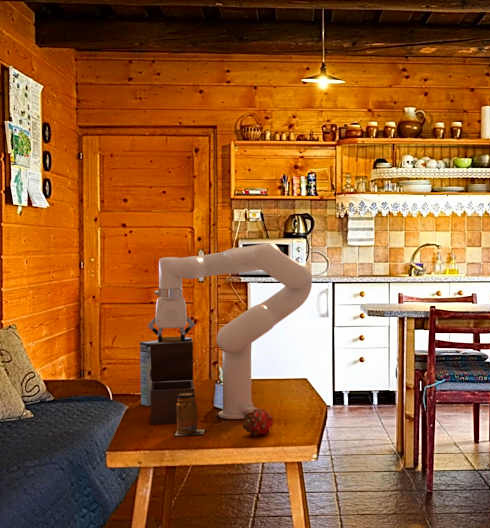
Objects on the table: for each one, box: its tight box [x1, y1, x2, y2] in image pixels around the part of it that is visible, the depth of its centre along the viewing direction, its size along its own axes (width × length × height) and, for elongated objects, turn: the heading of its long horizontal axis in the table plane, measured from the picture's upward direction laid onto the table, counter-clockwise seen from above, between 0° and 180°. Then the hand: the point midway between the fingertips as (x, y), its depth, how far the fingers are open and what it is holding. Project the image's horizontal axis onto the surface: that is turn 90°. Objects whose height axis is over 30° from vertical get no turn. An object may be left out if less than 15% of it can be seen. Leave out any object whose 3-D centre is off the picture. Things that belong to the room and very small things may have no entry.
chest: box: [150, 380, 195, 425], centre depth 281 cm, size 17×14×11 cm
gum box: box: [139, 336, 194, 407], centre depth 310 cm, size 20×5×23 cm, turn 134°
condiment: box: [174, 392, 206, 437], centre depth 258 cm, size 7×8×12 cm
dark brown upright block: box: [150, 336, 194, 382], centre depth 285 cm, size 18×14×5 cm
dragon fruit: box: [242, 408, 274, 437], centre depth 254 cm, size 8×8×12 cm
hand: (171, 346), depth 283 cm, fingers closed on dark brown upright block, 6 cm apart
